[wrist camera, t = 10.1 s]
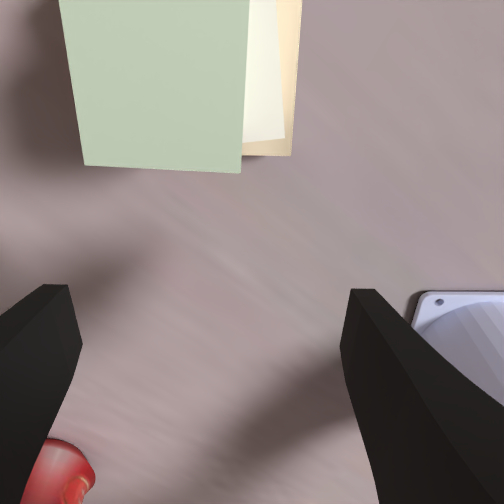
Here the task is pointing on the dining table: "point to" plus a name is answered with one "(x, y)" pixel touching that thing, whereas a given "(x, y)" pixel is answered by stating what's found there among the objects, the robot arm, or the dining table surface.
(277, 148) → the birch base slab
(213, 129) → the sage block
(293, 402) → the dining table surface
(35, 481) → the liquor
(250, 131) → the off-white top slab
